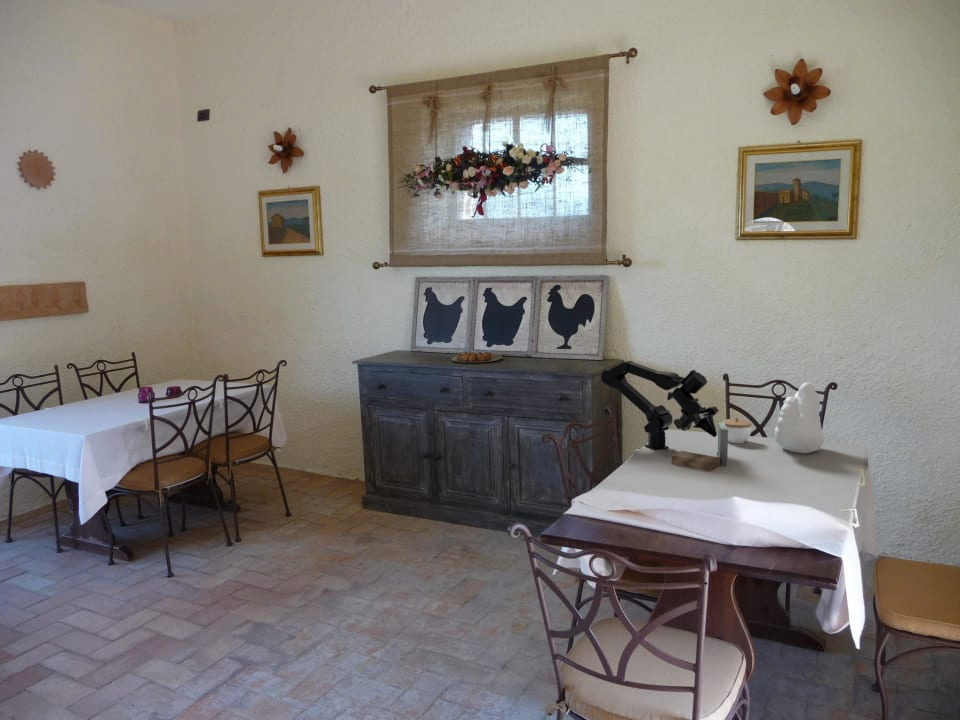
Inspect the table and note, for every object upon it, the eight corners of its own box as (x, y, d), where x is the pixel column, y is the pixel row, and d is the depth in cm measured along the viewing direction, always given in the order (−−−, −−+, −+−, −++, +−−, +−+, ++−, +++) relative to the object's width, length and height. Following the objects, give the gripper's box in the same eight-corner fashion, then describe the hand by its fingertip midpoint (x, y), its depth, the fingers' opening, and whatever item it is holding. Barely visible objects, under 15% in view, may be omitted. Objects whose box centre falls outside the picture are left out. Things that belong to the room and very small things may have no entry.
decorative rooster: (795, 442, 269) (798, 377, 266) (834, 451, 256) (837, 383, 253) (751, 452, 257) (753, 384, 254) (789, 462, 244) (792, 390, 240)
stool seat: (671, 463, 245) (671, 455, 244) (682, 459, 250) (682, 450, 250) (709, 471, 235) (710, 462, 235) (720, 466, 240) (720, 457, 240)
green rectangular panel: (727, 465, 240) (728, 430, 238) (720, 465, 240) (720, 430, 238) (723, 455, 252) (724, 422, 251) (716, 454, 253) (717, 421, 251)
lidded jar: (715, 439, 276) (716, 416, 274) (739, 437, 279) (739, 413, 278) (733, 446, 265) (733, 421, 264) (757, 443, 269) (758, 419, 267)
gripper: (684, 411, 267) (712, 444, 261) (659, 419, 253) (687, 455, 247) (704, 392, 260) (733, 426, 254) (679, 400, 247) (709, 436, 241)
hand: (715, 436), depth 249 cm, fingers closed
